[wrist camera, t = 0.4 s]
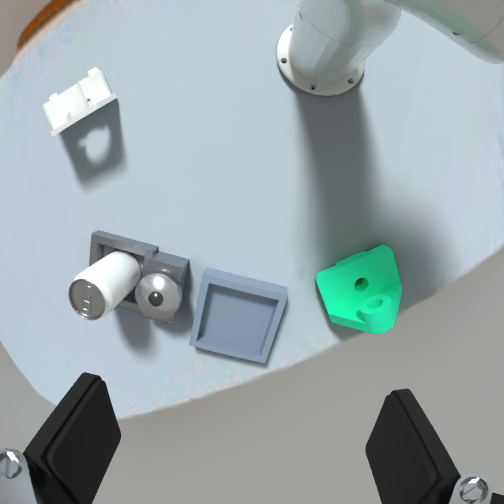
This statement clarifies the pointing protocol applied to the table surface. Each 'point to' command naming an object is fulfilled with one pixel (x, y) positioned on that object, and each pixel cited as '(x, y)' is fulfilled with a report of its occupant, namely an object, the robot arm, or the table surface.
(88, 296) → the can
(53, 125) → the mounting bracket
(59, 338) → the table surface
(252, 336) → the tray
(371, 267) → the camera mount
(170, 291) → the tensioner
